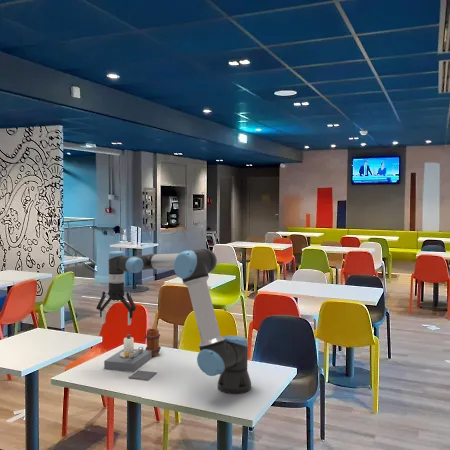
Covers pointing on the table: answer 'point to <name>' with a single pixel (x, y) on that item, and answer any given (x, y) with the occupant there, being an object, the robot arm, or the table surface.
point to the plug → (128, 346)
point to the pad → (142, 375)
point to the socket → (127, 361)
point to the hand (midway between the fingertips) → (116, 324)
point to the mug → (153, 340)
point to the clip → (128, 355)
